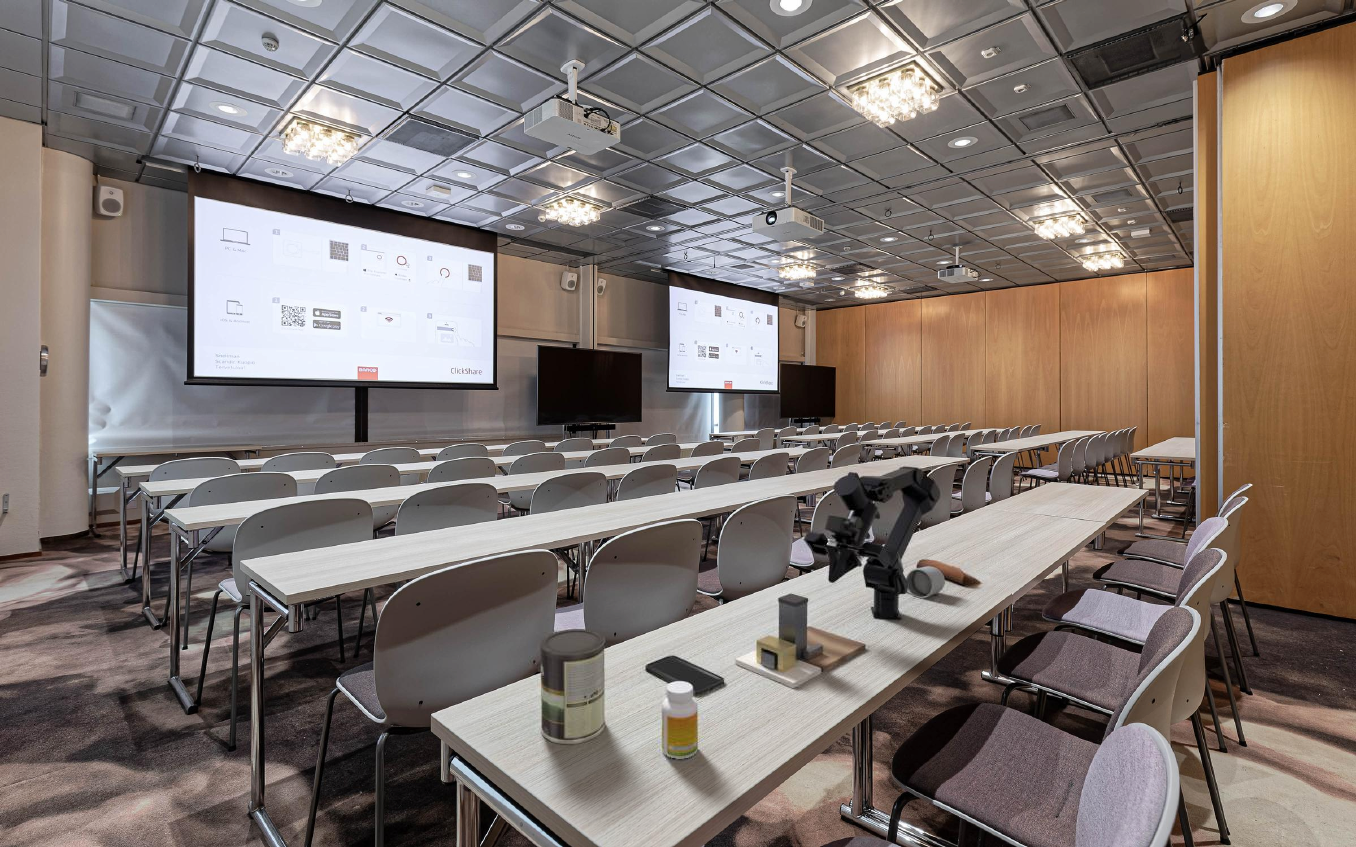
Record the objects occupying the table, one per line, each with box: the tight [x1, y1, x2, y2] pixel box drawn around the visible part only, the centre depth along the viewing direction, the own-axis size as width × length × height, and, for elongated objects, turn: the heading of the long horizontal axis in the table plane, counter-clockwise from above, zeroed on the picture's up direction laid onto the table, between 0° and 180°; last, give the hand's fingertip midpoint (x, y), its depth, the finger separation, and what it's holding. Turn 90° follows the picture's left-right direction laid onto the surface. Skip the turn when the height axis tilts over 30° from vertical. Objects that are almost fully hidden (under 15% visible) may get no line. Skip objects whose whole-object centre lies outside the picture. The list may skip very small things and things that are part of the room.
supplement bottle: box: [661, 681, 699, 760], centre depth 92 cm, size 5×5×10 cm
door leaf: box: [798, 625, 867, 673], centre depth 129 cm, size 16×14×1 cm
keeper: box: [755, 634, 796, 673], centre depth 119 cm, size 4×6×4 cm, turn 43°
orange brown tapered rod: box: [915, 558, 982, 588], centre depth 181 cm, size 18×7×7 cm
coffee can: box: [539, 628, 606, 745], centre depth 99 cm, size 10×10×14 cm
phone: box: [644, 654, 725, 697], centre depth 117 cm, size 8×1×15 cm
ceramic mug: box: [905, 566, 946, 599], centre depth 165 cm, size 11×8×8 cm
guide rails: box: [804, 644, 823, 661], centre depth 125 cm, size 5×7×2 cm
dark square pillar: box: [762, 592, 809, 669], centre depth 121 cm, size 10×4×12 cm, turn 134°
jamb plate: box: [734, 649, 822, 689], centre depth 120 cm, size 9×14×1 cm, turn 44°
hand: (830, 581), depth 132 cm, fingers closed
